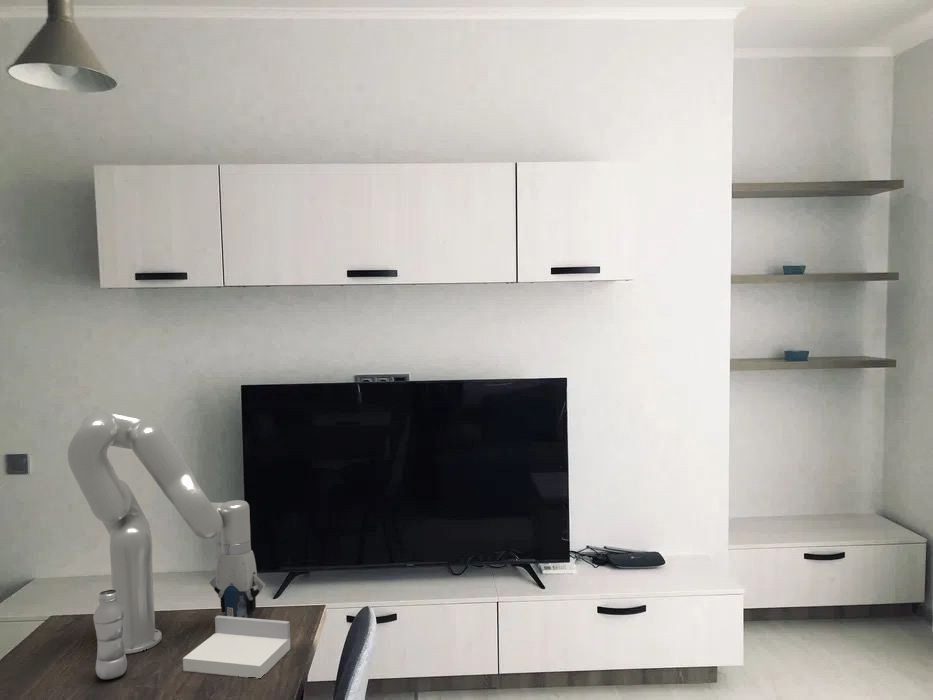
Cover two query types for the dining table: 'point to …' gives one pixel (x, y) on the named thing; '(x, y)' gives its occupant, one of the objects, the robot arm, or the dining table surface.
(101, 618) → the plastic bottle
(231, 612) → the soda can
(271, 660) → the shelf
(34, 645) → the dining table surface
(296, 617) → the dining table surface
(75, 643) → the dining table surface
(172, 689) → the dining table surface
